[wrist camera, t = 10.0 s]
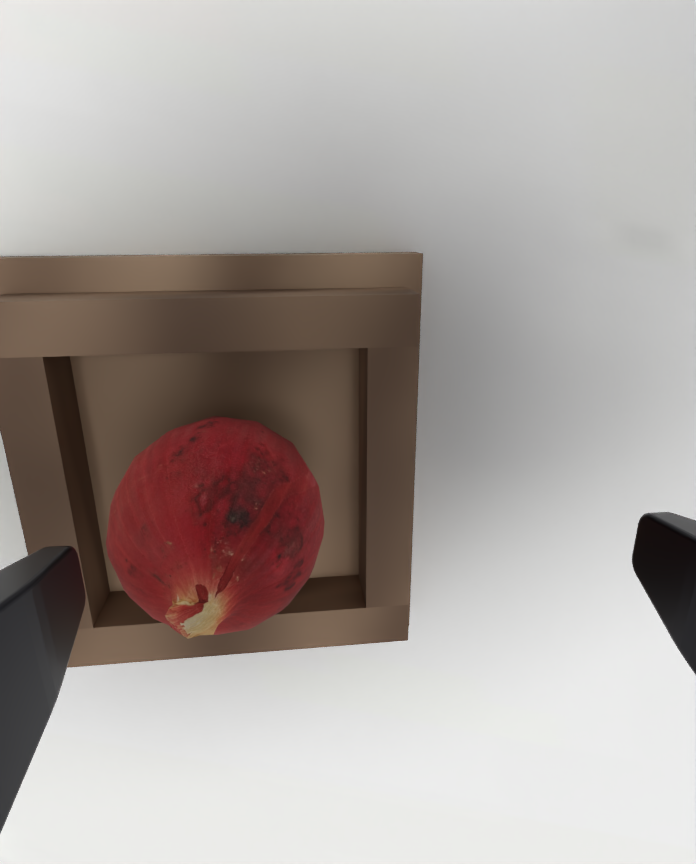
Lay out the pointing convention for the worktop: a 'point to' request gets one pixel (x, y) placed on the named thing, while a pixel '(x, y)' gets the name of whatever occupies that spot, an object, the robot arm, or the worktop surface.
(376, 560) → the walnut holder
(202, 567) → the onion
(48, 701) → the robot arm
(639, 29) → the worktop surface
